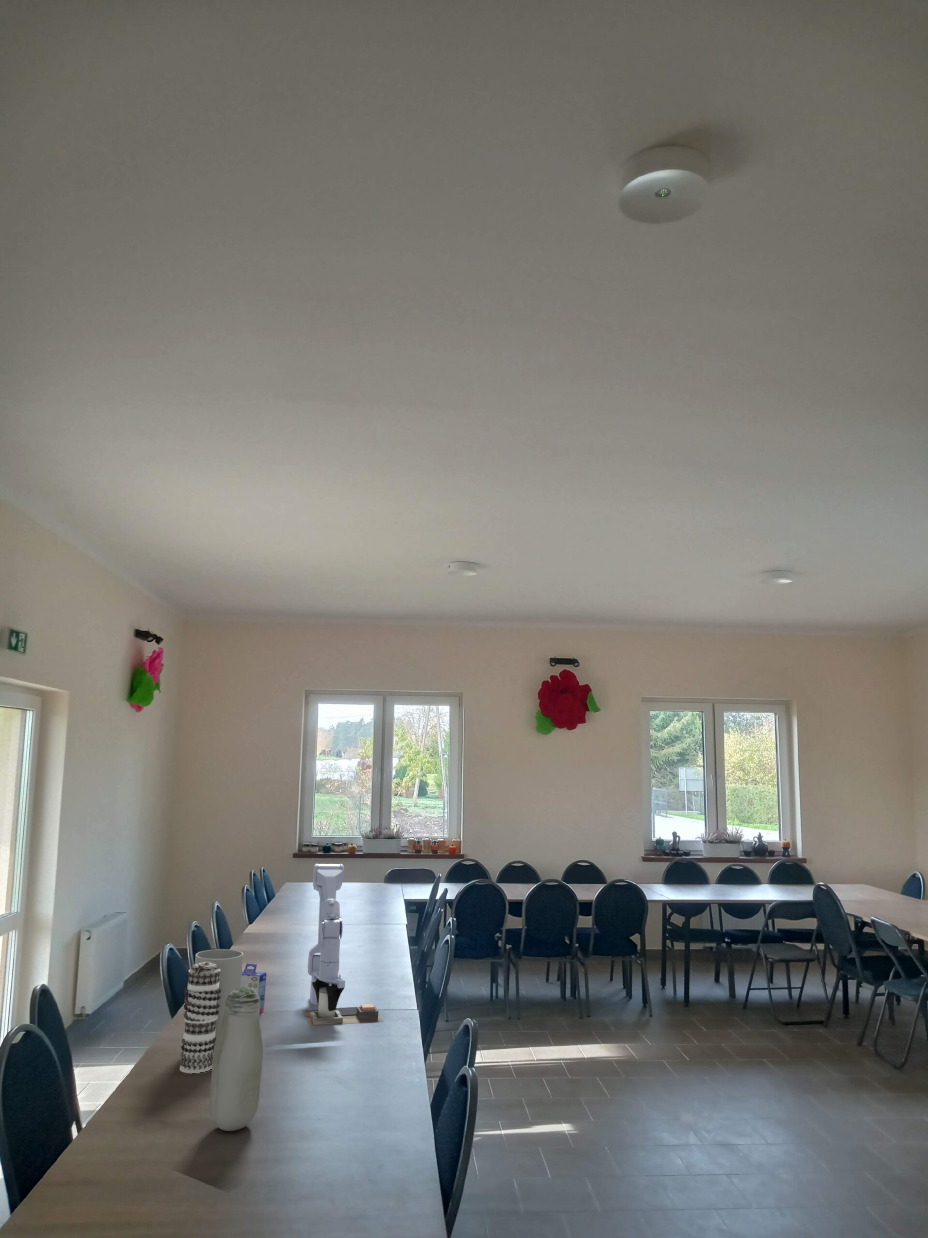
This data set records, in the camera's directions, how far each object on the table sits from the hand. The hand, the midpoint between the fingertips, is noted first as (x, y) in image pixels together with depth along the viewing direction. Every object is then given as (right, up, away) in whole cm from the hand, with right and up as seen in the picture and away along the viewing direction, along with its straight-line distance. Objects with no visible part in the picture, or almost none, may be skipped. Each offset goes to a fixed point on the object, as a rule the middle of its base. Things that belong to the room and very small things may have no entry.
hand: (326, 1008), depth 257 cm
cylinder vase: (-26, +1, -30) cm, 39 cm away
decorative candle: (-26, +3, -41) cm, 49 cm away
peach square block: (+12, -4, +3) cm, 13 cm away
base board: (+4, -5, +4) cm, 8 cm away
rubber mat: (+6, -5, +8) cm, 11 cm away
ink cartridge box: (-26, -5, +6) cm, 27 cm away
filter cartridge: (0, -2, 0) cm, 2 cm away
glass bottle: (-8, +9, -76) cm, 77 cm away
